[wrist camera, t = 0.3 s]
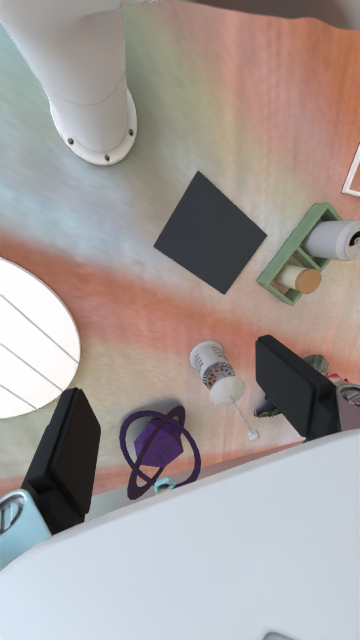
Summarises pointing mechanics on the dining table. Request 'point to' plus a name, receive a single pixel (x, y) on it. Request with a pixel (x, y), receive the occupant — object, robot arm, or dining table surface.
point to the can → (333, 240)
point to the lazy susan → (33, 342)
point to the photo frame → (358, 158)
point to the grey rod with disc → (219, 377)
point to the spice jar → (298, 278)
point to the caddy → (298, 251)
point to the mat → (210, 235)
